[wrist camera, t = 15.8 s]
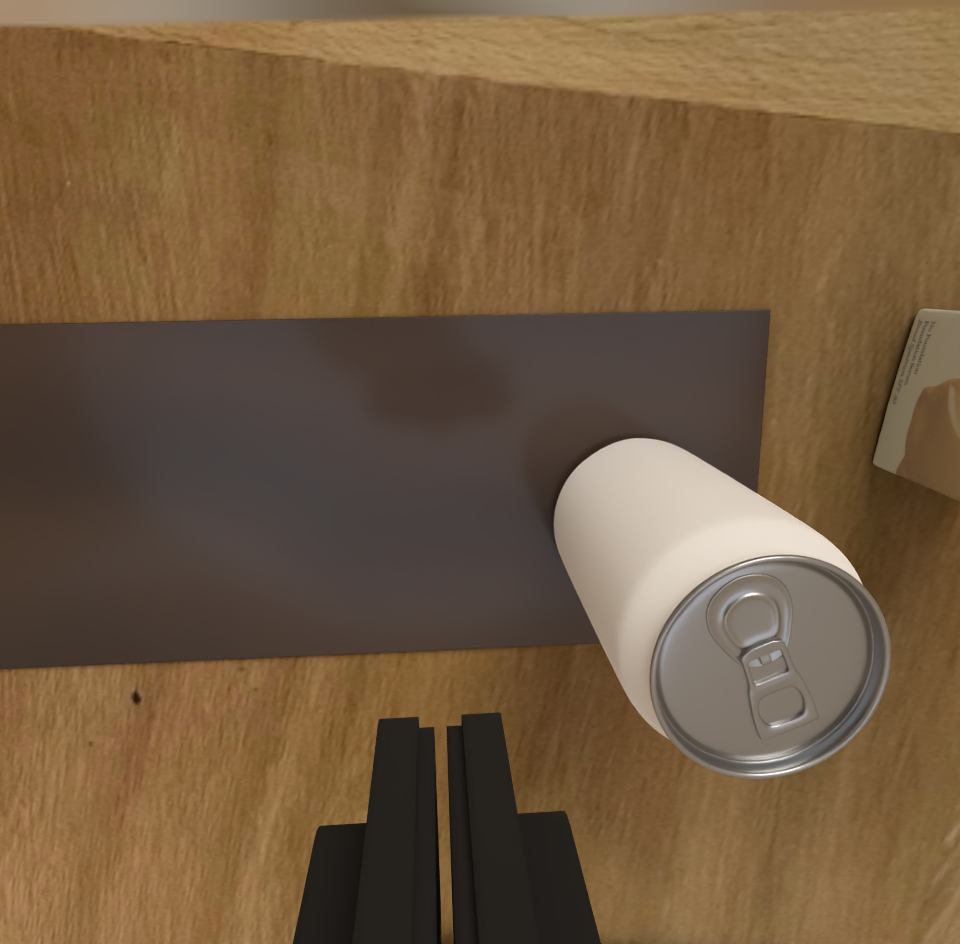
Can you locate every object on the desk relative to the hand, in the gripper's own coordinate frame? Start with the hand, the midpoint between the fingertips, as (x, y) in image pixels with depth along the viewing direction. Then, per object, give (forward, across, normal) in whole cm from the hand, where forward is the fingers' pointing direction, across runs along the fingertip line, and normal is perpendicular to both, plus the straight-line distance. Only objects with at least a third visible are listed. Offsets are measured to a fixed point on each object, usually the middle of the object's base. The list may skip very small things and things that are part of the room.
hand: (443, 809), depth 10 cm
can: (+18, -8, +2) cm, 20 cm away
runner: (+18, +5, +1) cm, 19 cm away
